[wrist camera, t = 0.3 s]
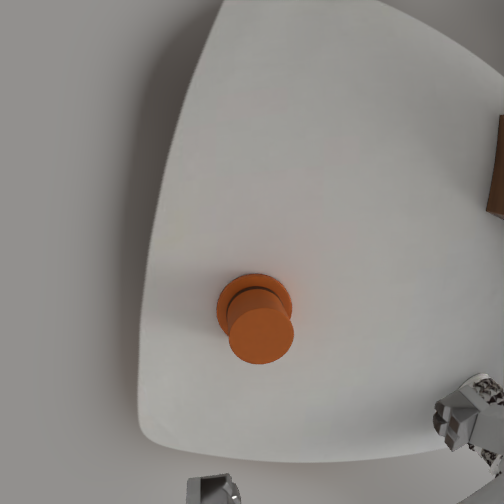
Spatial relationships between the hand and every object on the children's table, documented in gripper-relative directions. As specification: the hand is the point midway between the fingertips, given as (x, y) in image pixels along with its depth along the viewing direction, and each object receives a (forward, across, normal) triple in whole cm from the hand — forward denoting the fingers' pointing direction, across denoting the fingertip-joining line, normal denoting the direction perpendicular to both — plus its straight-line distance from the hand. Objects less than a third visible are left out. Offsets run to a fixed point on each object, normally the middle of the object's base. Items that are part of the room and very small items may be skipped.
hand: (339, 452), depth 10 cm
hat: (+16, +2, +1) cm, 17 cm away
